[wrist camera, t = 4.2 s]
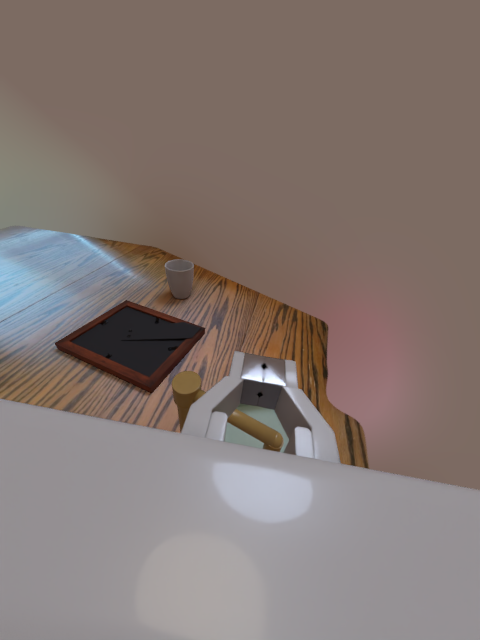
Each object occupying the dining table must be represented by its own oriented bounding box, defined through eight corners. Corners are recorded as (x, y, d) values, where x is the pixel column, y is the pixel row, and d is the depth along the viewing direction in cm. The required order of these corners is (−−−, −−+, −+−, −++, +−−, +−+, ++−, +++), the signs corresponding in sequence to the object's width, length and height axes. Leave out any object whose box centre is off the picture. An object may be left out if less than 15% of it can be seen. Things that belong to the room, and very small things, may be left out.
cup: (197, 290, 75) (197, 261, 69) (189, 303, 68) (188, 273, 62) (174, 286, 75) (171, 257, 69) (163, 299, 69) (159, 268, 63)
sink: (282, 398, 45) (287, 384, 42) (313, 476, 34) (323, 464, 32) (213, 408, 42) (213, 393, 39) (224, 497, 31) (226, 484, 29)
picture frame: (204, 333, 58) (127, 305, 65) (204, 327, 57) (126, 299, 64) (151, 393, 43) (57, 349, 50) (150, 386, 42) (54, 342, 48)
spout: (168, 406, 27) (165, 385, 25) (186, 387, 30) (184, 366, 27) (273, 469, 23) (281, 451, 20) (283, 441, 25) (292, 422, 23)
